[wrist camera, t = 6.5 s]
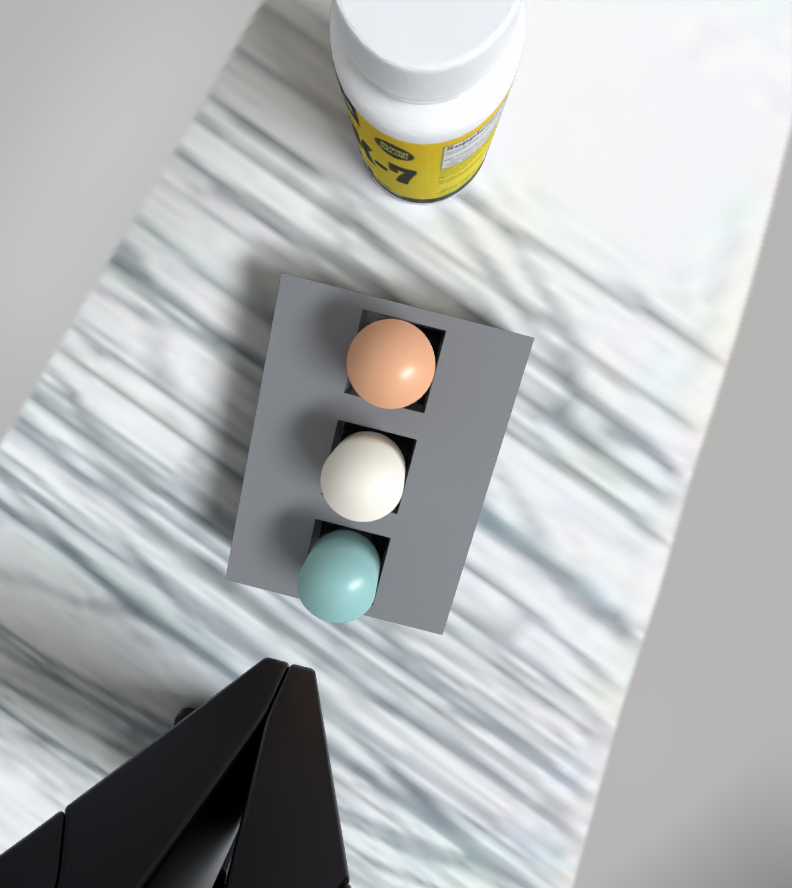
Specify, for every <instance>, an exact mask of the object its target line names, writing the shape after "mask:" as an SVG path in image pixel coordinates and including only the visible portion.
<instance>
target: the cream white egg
mask: <svg viewBox="0 0 792 888" xmlns="http://www.w3.org/2000/svg"><path fill="white" fill-rule="evenodd" d="M405 469H406V467H405V460H404V457H403V454H402V452H401V450H400V449H399V447H398V446H397V445H396V444H395V443H394V442H393V441H392V440H391V439H390V438H388V437H387V436H385V435H382V434H380V433H377V432H371V431H364V432H358V433H354V434H352V435H350V436H348V437H346V438H345V439H344V440H343V441H341V442H340V443H339V445H338V446H337V447H336V448H335V450H334V451H333V452H332V453H331V454H330V456H329V457H328V458H327V460H326V461H325V463H324V466H323V468H322V471H321V479H320V483H321V489H322V493H323V496H324V498H325V500H326V501H327V503H328V504H329V506H330V507H331V508H332V509H333V510H334V511H335V512H336V513H338V514H339V515H341V516H342V517H344V518H347V519H349V520H352V521H357V522H369V521H374V520H378V519H380V518H382V517H384V516H386V515H387V514H389V513H390V512H391V511H392V510H393V509H394V508H395V507H396V505H397V504H398V503H399V501H400V499H401V496H402V493H403V488H404V480H405Z"/></svg>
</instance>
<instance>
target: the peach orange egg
mask: <svg viewBox="0 0 792 888" xmlns="http://www.w3.org/2000/svg"><path fill="white" fill-rule="evenodd" d="M434 372H435V356H434V351H433V348H432V346H431V344H430V342H429V340H428V339H427V337H426V336H425V335H424V333H423V332H422V331H421V330H419V329H418V328H417V327H415V326H414V325H412V324H410V323H408V322H406V321H403V320H398V319H383V320H379V321H376V322H373V323H371V324H369V325H367V326H366V327H365V328H363V329H362V330H361V331H360V332H359V333H358V334H357V335H356V337H355V338H354V340H353V341H352V343H351V345H350V348H349V351H348V355H347V373H348V377H349V380H350V382H351V384H352V386H353V388H354V389H355V391H356V392H357V393H358V394H359V395H360V397H362V398H363V399H364V400H365V401H367V402H368V403H370V404H372V405H374V406H377V407H380V408H385V409H397V408H402V407H405V406H408V405H410V404H412V403H414V402H415V401H417V400H418V399H419V398H421V397H422V396H423V395H424V393H425V392H426V391H427V389H428V388H429V386H430V384H431V382H432V380H433V377H434Z"/></svg>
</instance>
